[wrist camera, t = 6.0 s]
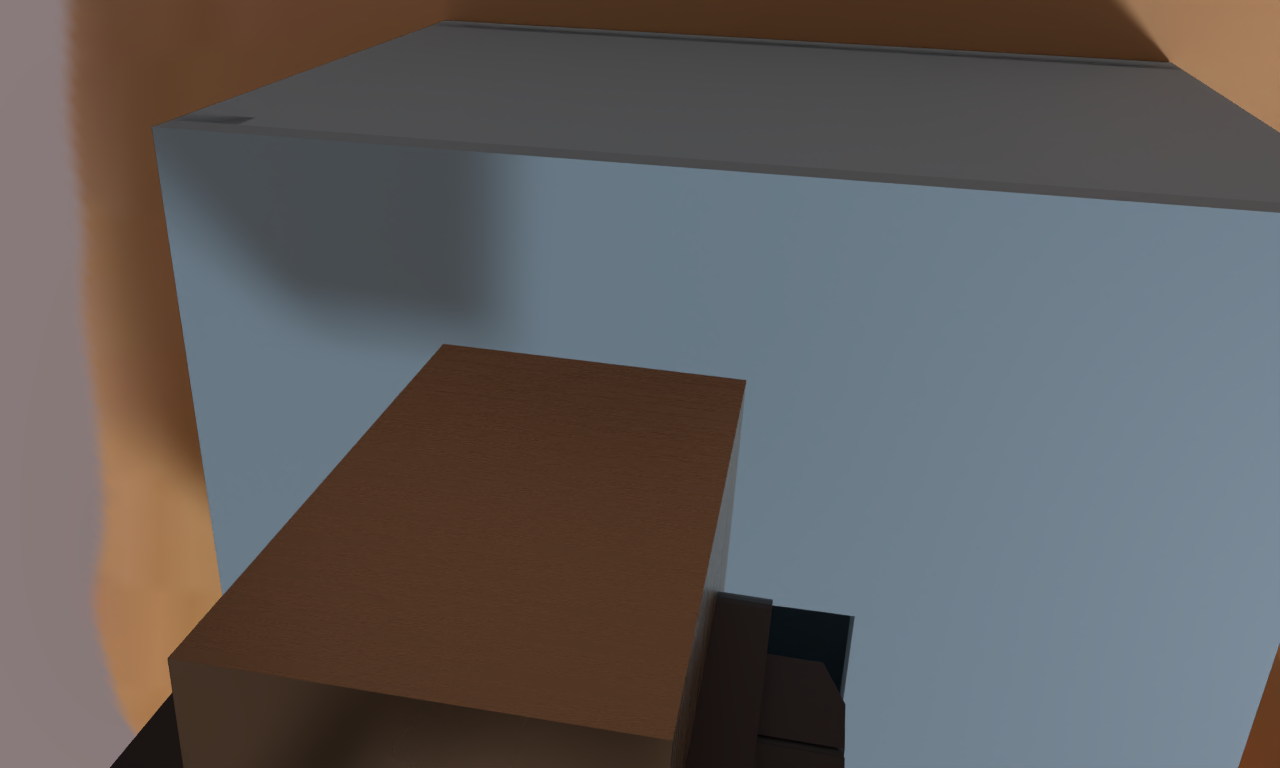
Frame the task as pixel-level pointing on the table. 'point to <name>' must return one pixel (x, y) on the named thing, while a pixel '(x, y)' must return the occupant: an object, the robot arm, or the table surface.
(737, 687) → the robot arm
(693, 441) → the brown rectangular block
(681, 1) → the table surface
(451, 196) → the box
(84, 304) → the table surface
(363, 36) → the table surface
